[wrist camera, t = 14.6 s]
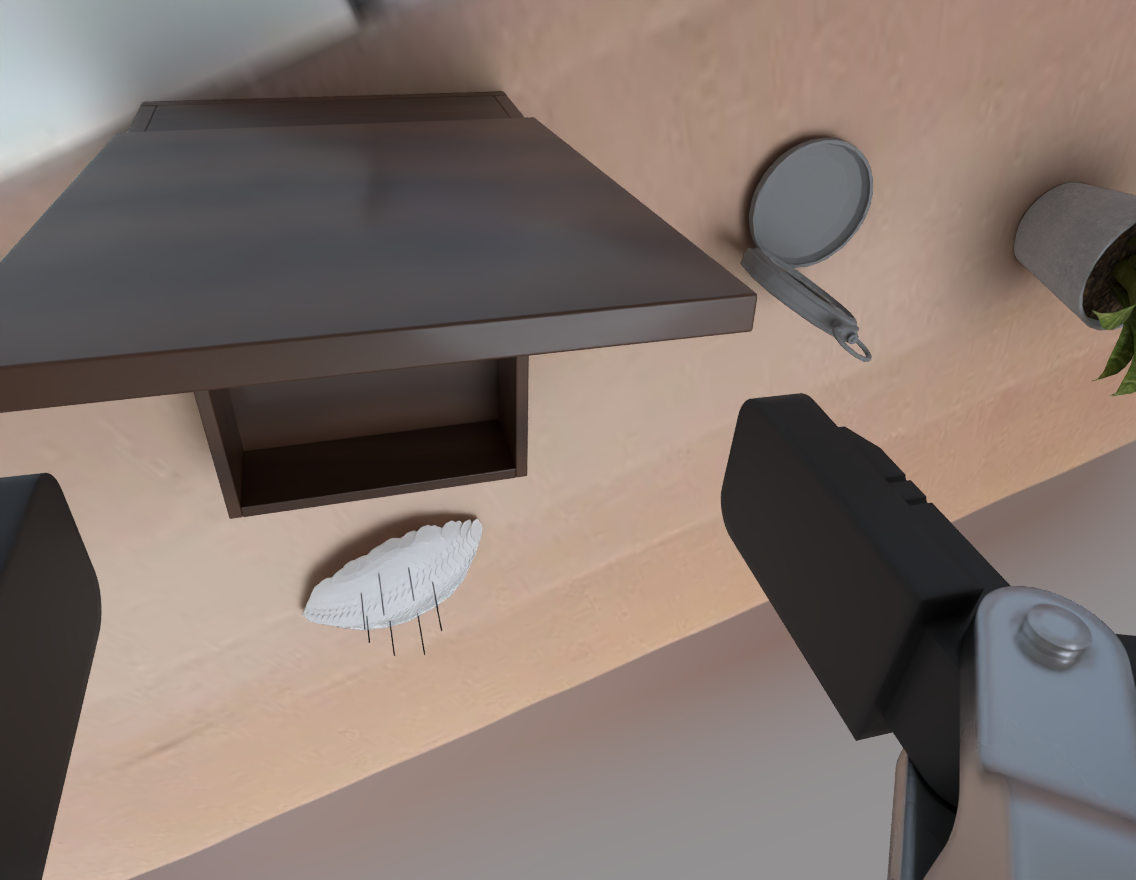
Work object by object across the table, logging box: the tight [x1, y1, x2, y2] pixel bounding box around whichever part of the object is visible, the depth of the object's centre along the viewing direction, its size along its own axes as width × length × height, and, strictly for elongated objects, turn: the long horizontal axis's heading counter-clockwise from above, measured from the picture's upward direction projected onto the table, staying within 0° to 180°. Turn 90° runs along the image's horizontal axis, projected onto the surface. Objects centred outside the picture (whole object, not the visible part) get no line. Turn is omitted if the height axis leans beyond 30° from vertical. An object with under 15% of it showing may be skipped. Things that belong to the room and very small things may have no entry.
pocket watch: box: [740, 137, 873, 362], centre depth 38 cm, size 8×8×10 cm
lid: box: [0, 117, 757, 413], centre depth 21 cm, size 18×14×1 cm
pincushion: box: [302, 519, 482, 656], centre depth 47 cm, size 12×6×6 cm, turn 113°
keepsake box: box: [128, 92, 529, 519], centre depth 36 cm, size 17×14×5 cm
